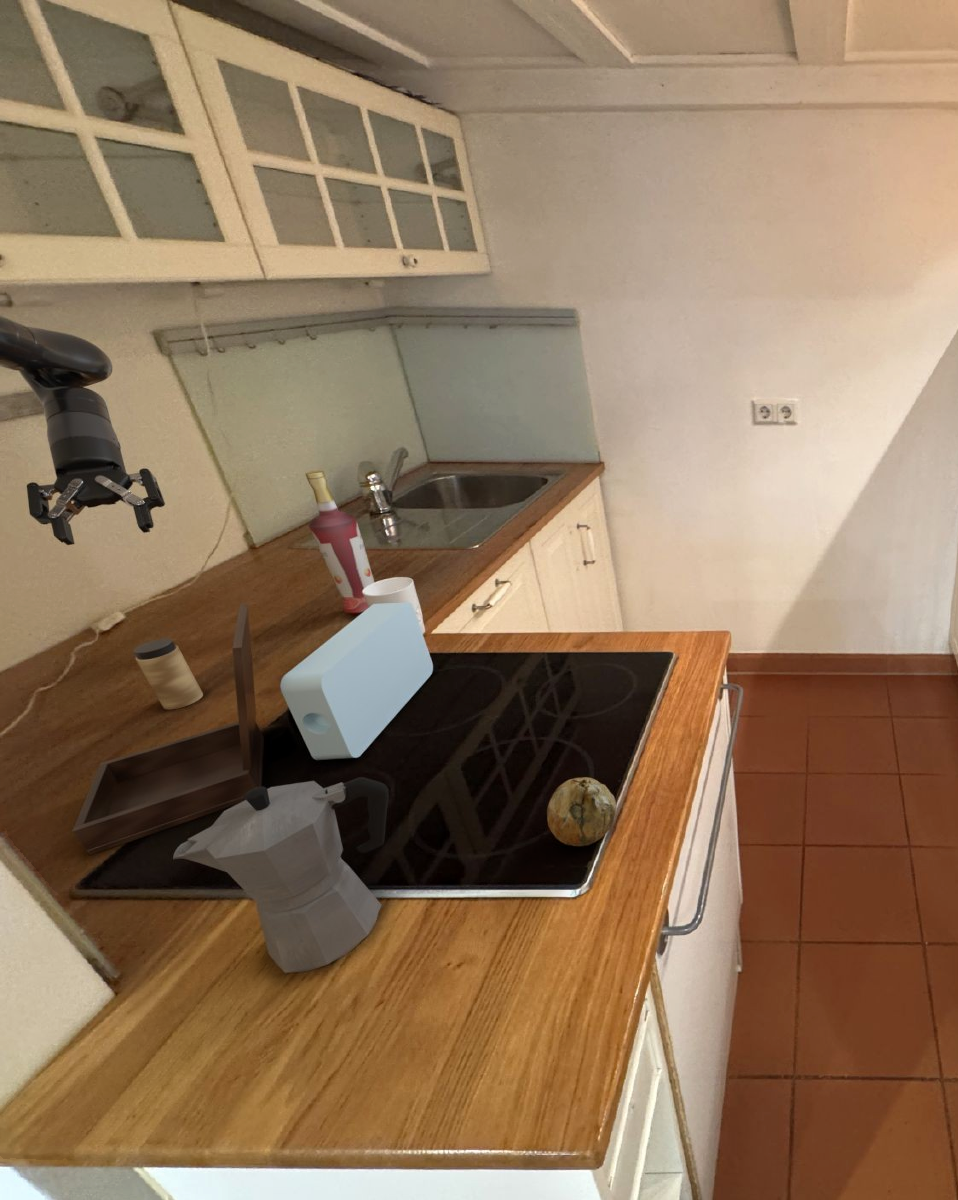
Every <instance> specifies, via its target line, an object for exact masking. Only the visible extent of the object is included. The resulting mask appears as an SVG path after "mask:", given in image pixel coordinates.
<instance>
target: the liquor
mask: <svg viewBox="0 0 958 1200" xmlns="http://www.w3.org/2000/svg"><path fill="white" fill-rule="evenodd" d="M305 478H306V480H307V482H308V484H309V486H310V487H311V489H312V491H313V494H314V498H315V502H316V505H317V509H318V513H319V515H317V516H315V517H314V518H312V520H311V521H310V522H309V524H308V527H309V530H310V531H311V534H312V536H313V538H314V541H315V543H316V545H317V547H318V550H319V552H320V554H321V556H322V558H323V560H324V563H325V564H326V566H327V568H328V570H329V573H330V576H331V577H332V580H333V582H334V584H335V586H336V588H337V592H338V593H339V596H340V598H341V601H342V604H343V609H342V610H343V612H345V613H347V614H350V615H353V616H356V617H358V616H359V615H360V614H362V613H363V612H364V611H365V610H367V609H368V608H369V607H368V605H367V603H366V600H365V598H364V596H363V593H362V590H363V589H364V588H365V587H366V586H368V585H370V584H372V583H375V582H376V581H375V578H374V575H373V572H372V569H371V568H372V567H371V565H370V562H369V558H368V554H367V551H366V547H365V544H364V539H363V537H362V534H361V531H360V527H359V524H358V521H357V517H356V515H354V514H353V513H349V512H347V511H346V512H345V511H341V510H339V508H338V506H337V504H336V502H335V500H334V498H333V495H332V494H331V492H330V489H329V487H328V481H327V478H326V475H325V472H324V470H313V471H308V472H306V473H305Z"/></svg>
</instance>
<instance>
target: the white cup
mask: <svg viewBox="0 0 958 1200" xmlns="http://www.w3.org/2000/svg"><path fill="white" fill-rule="evenodd" d="M362 593H363V596H364V598H365V600H366V603H367V605H368V607H370V606H372V605H373V604H383V603H402V602H409V603H411V604H412V605H413V607H414V610H415V613H416V616H417V619H418V622H419V625H420V628H421V631H422V634H423V635H424V633H425V632H426V625H425V623H424V618H423V617H424V616H423V613H422V607H421V603H420V600H419V596H418V593H417V591H416V585H415V583H414V579H413V578H410V577H408V576H407V577H406V576H396V577H389V578H385V579H381V580H377V581H375V583H372V584H370V585H368V586H366V587H365V588H364V589H363V590H362Z"/></svg>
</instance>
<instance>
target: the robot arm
mask: <svg viewBox="0 0 958 1200" xmlns="http://www.w3.org/2000/svg"><path fill="white" fill-rule="evenodd" d="M0 367H2V368H5V369H8V370H12V371H17V372H19V374H20V375H21V377H22V378H23V380H24V381H25V382H26V383H27V384H28V386H29V387H30V388H31V391H32V392H33V393H34V394H35V396H36V398H37V399H38V401H39V402H40V404H41V406H42V409H43V414H44V418H45V423H46V438H47V442H48V447H49V449H50V450H49V451H50V455H51V459H52V464H53V468H54V472H55V476H56V480H55V482H54V483H53V484H41V485H40V484H38V483H37V482H34V481H33V482H32V481H31V482H29V483H27V484H26V492H27V502H28V510H29V511H28V513H29V515H30V516H31V517H32V518H33V519H35V521H37V522H38V523H39V524H40V525H44V526H45V525H49V524H51V525H50V526H51V529H52V532H53V536H54V537H55V538H56V539H57V540H58V541H59V542H61V543H63V544H65V545H67V546H71V545H75V539H74V535H73V531H72V525H71V524H70V523H69V522H70V521H71V520H72V519H73V518H74V516H78V515H80V513H81V512H82V511H83V510H84V509H85V507H87V508H88V509H91V508H96V507H100V506H111V505H117V502H119V501H120V502H122V503H123V504H126V505H128V506H130V507H132V508H133V513H134V517H135V520H136V524H137V527H138V529H140V531H141V532H142V533H144V534H145V533H150V532H151V529H153V528H154V525H155V523H154V520H153V516H152V513H151V511H152V510H153V509H155V508H163V507H164V506H165V505H166V502H165V500H164V496H163V494H162V491H161V488H160V486H159V484H158V481H157V478H156V476H154V474H153V473H152V472H151V471H150V469H148V468H145V467H144V468H141V469H139V471H138V472H136V473H130V474H128V473H127V470H126V466H125V462H124V458H123V454H122V451H121V448H122V447H121V444H120V441H119V439H118V436H117V434H116V433H117V432H115V429H114V427H113V423H112V419H111V417H110V413H109V408H108V405H107V402H106V400H105V399H104V398H103V396H102V395H100V394H99V393H98V392H96V391H94V390H93V389H90V388H87V387H88V386H92V385H95V384H98V383H101V382H104V381H106V380H107V379H109V378H110V377H111V375H112V373H113V364H112V360H111V359H110V357H109V356H108V355H107V353H105V352H104V351H103V350H102V349H101V348H100V347H98V345H96V344H95V343H93V342H90V341H89V340H87V339H84V338H82V337H80V336H77V335H73V334H69V333H67V332H61V331H55V330H52V329H51V330H50V329H45V328H41V327H33V326H27V325H23V324H21V323H20V322H17V321H14V320H12V319H9V318H7V317H5V316H2V315H0ZM134 483H137V484H138V485H139V486H141V487H144V489H145V492H146V494H147V496H146V497H143V498H142V497H139V496H138V495H136V494H134V493H132V492H131V491H130V489H131V487H132V486H133V485H134ZM57 493H58V494H60V495H59V496H58V498H57V499H56V500H55V505H54V506H53V507H52V508H51V509H50V504H49V502H50V501H52V500H53V498H54V495H55V494H57ZM72 502H73V503H72Z"/></svg>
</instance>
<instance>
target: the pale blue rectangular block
mask: <svg viewBox="0 0 958 1200" xmlns="http://www.w3.org/2000/svg"><path fill="white" fill-rule="evenodd" d="M433 671H434V664H433V661H432V657H431V655H430V652H429V649H428V646H427V643H426V640H425V636H424V633H423V634H422V631H421V628H420V625H419V622H418V619H417V616H416V613H415V610H414V607H413V605H412V604H411V603H409V602H402V603H383V604H373V605H372V606H370V607H369V608H368V609H367V610H365V611H364V612H363V613H362V614H360V615H359V616H356V617H355V618H354V619H353V620H352V621H351V622H349V623H348V624H346V625H345V626H344V627H343V628H342V629H340V630H339V631H338V632H336V634H334V635H333V636H331V637H330V638H329V639H328V640H327V641H325V642H324V643H323V644H321V646H319V647H317V649H315V650H314V651H313V652H311V654H309V655H308V656H307V657H305V658H303V660H302V661H300V662H299V663H298V664H297V665H295V666H294V667H293V668H292V669H290V670H289V671H288V672H286V673H285V674H284V675H283V676H282V678H281V681H280V692H281V694H282V696H283V699H284V700H285V703H286V705H287V707H288V709H289V711H290V714H291V715H292V718H293V720H294V721H295V724H296V726H297V728H298V730H299V733H300V734H301V736H302V739H303V741H304V743H305V745H306V747H307V749H308V752H309V753H310V756H311V758H312V759H313V760H316V761H323V760H341V759H354V758H355V759H357V758H359V757H361V756H362V754H363V753H364V752H365V751H366V750H367V749H368V748H369V747H370V745H371V744H372V743H373V742H374V741H375V740H376V739H377V737H378V736H379V735H380V734H381V733H382V731H384V729H385V728H386V727H387V726H388V725H389V724H390V722H392V721H393V719H394V718H395V717H396V716H397V714H398V713H399V712H400V711H401V710H402V709H403V708H404V707H405V706H406V704H408V702H409V701H410V700H411V699H412V697H413V696H414V695H415V694H416V693H417V692H418V691H419V690H420V688H422V686H423V685H424V684H425V683H426V681H427V680H428V679H430V677H431V675H432V674H433Z"/></svg>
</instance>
